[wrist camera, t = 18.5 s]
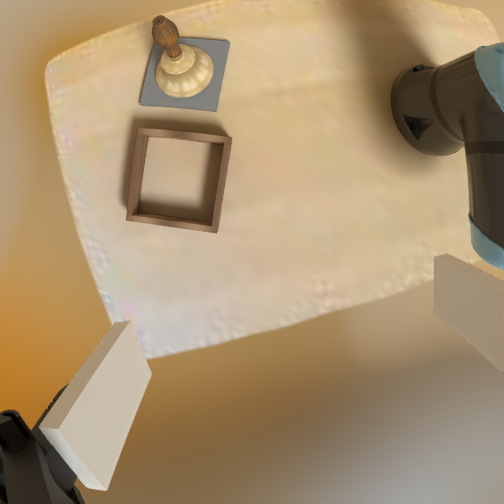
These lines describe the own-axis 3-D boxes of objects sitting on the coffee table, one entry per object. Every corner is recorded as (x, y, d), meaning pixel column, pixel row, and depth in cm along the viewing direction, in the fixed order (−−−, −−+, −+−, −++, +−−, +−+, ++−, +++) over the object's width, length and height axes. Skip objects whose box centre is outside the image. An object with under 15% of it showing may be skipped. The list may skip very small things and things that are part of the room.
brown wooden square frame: (232, 140, 41) (231, 137, 38) (218, 229, 44) (216, 233, 41) (144, 130, 40) (138, 127, 37) (133, 217, 43) (126, 220, 40)
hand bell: (169, 41, 36) (139, -14, 21) (222, 54, 37) (214, -3, 22) (146, 90, 38) (102, 52, 22) (200, 105, 39) (179, 67, 23)
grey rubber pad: (229, 43, 37) (229, 41, 37) (216, 111, 40) (215, 110, 39) (157, 39, 37) (155, 37, 36) (141, 105, 39) (139, 104, 38)
